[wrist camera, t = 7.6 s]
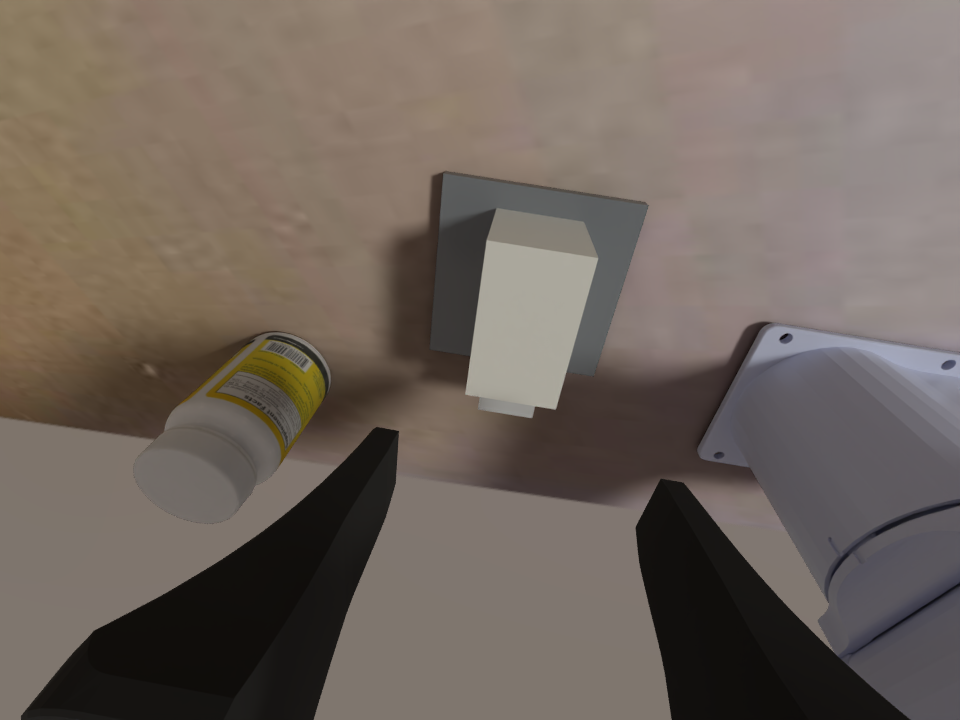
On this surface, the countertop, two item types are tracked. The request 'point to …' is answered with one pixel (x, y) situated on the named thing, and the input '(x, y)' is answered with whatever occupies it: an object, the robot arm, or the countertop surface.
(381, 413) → the countertop surface
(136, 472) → the supplement bottle
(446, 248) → the coaster
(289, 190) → the countertop surface
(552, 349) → the block
